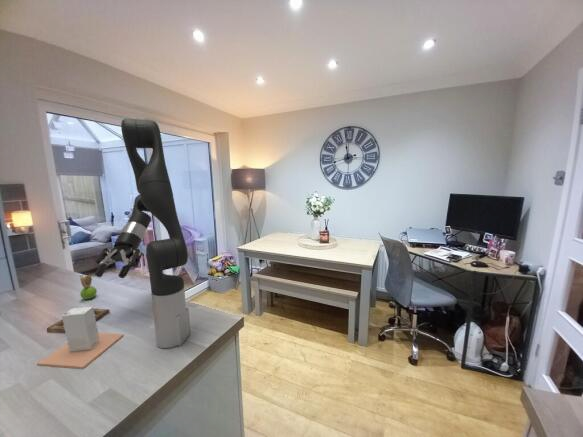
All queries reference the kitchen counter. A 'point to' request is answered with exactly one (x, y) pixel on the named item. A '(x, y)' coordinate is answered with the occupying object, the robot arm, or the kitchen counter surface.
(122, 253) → the robot arm
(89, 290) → the snail figurine
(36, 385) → the kitchen counter surface
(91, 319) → the skincare box
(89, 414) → the kitchen counter surface
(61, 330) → the walnut collar
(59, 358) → the terracotta mat
